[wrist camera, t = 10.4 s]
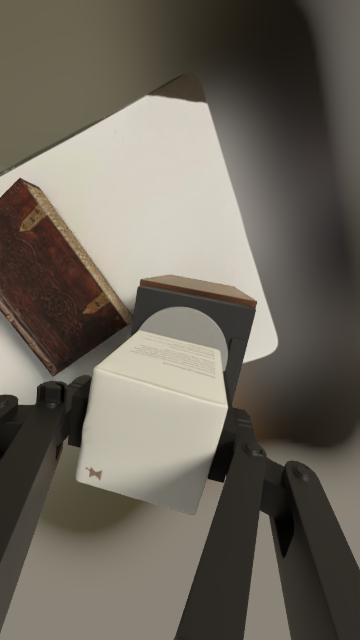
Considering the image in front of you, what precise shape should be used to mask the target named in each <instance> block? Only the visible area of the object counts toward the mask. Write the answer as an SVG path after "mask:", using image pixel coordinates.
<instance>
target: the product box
mask: <svg viewBox="0 0 360 640" xmlns="http://www.w3.org/2000/svg"><path fill="white" fill-rule="evenodd" d="M227 410H228V405H227V399H226V392H225V385H224V378H223V370H222V362H221V353H220V351H219V350H217V349H214V348H210V347H205V346H201V345H197V344H193V343H189V342H185V341H181V340H177V339H173V338H169V337H165V336H161V335H157V334H153V333H149V332H145V331H141V330H138V331H137V332H136V333H135V334H134V335H133V336H132V337H130V338H129V339H128V340H127V341H126V342H124V343H123V344H122V345H121V346H120V347H119V348H117V349H116V350H115V351H114V352H112V353H111V354H110V355H109V356H108V357H107V358H105V359H104V360H103V361H102V362H101V363H99V364H98V365H97V366H96V367H95V368H94V369H93V373H92V380H91V386H90V392H89V399H88V405H87V411H86V417H85V420H84V423H83V428H82V441H81V447H80V453H79V458H78V465H77V471H76V480H77V481H78V482H82V483H85V484H89V485H92V486H95V487H99V488H102V489H105V490H109V491H113V492H116V493H120V494H123V495H126V496H129V497H132V498H136V499H139V500H143V501H146V502H150V503H153V504H156V505H159V506H162V507H166V508H169V509H172V510H176V511H179V512H182V513H186V514H189V515H195V513H196V511H197V507H198V504H199V501H200V498H201V495H202V492H203V489H204V486H205V483H206V480H207V477H208V474H209V470H210V467H211V464H212V461H213V458H214V455H215V451H216V448H217V445H218V442H219V438H220V435H221V432H222V428H223V425H224V421H225V418H226V414H227Z"/></svg>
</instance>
